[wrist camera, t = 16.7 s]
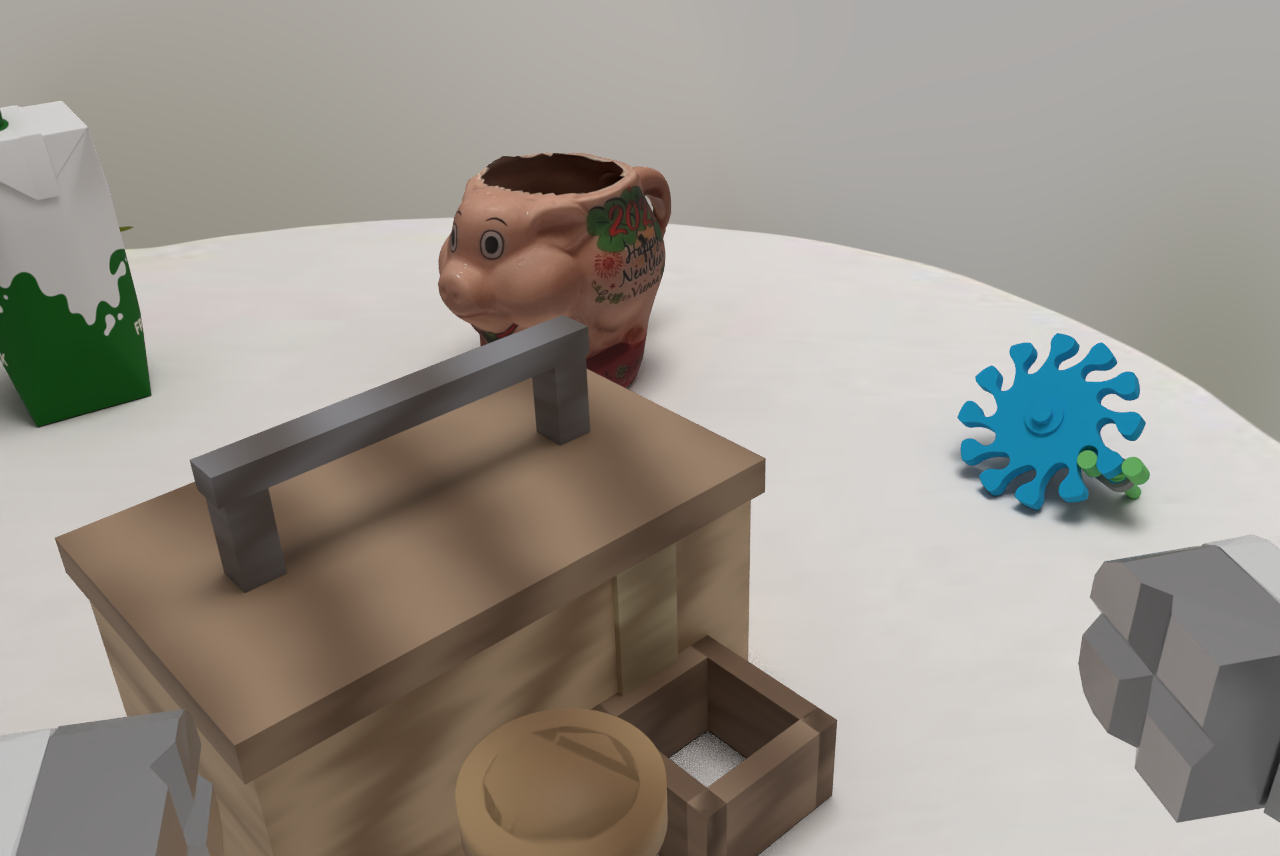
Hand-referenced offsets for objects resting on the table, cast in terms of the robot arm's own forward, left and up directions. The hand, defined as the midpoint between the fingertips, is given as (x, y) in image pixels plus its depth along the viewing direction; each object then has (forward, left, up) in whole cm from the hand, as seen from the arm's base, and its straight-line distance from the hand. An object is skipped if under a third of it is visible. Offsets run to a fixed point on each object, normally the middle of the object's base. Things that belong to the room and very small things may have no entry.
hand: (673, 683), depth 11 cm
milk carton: (+14, +72, -30) cm, 80 cm away
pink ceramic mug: (+39, +51, -30) cm, 71 cm away
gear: (+49, +22, -30) cm, 61 cm away
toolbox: (+14, +26, -30) cm, 42 cm away
